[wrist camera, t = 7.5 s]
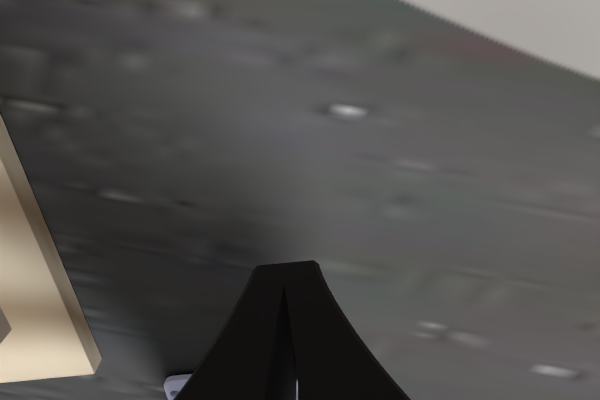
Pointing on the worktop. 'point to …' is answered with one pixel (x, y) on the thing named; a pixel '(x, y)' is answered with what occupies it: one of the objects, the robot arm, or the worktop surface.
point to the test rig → (35, 288)
